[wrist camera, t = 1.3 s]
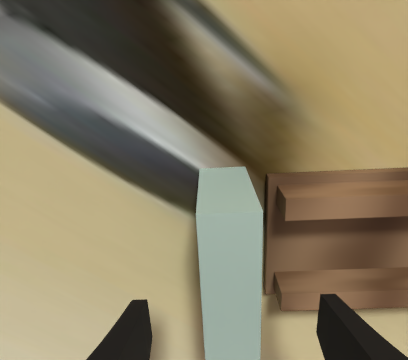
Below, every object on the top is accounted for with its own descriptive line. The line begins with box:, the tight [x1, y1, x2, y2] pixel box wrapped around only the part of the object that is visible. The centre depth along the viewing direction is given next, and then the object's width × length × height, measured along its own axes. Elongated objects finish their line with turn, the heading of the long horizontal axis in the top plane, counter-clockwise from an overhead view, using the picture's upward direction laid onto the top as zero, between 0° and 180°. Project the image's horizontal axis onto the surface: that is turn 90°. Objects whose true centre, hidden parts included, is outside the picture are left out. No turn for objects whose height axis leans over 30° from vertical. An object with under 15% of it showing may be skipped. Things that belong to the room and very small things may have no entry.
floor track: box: [264, 168, 408, 311], centre depth 17 cm, size 14×8×3 cm, turn 93°
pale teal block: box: [196, 167, 263, 360], centre depth 16 cm, size 9×3×6 cm, turn 3°
